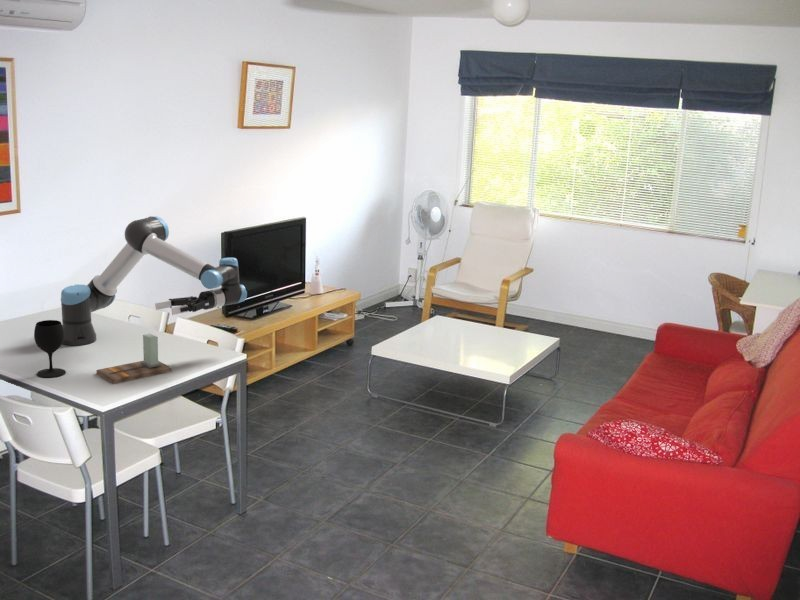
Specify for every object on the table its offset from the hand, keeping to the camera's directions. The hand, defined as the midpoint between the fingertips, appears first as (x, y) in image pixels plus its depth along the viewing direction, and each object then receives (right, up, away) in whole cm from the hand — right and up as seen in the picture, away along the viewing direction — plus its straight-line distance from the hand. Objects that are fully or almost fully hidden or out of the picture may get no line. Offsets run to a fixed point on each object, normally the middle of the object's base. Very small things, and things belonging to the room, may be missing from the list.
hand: (163, 308), depth 329 cm
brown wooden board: (-10, -25, -6) cm, 27 cm away
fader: (-5, -22, -1) cm, 22 cm away
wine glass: (-40, -25, -11) cm, 48 cm away
